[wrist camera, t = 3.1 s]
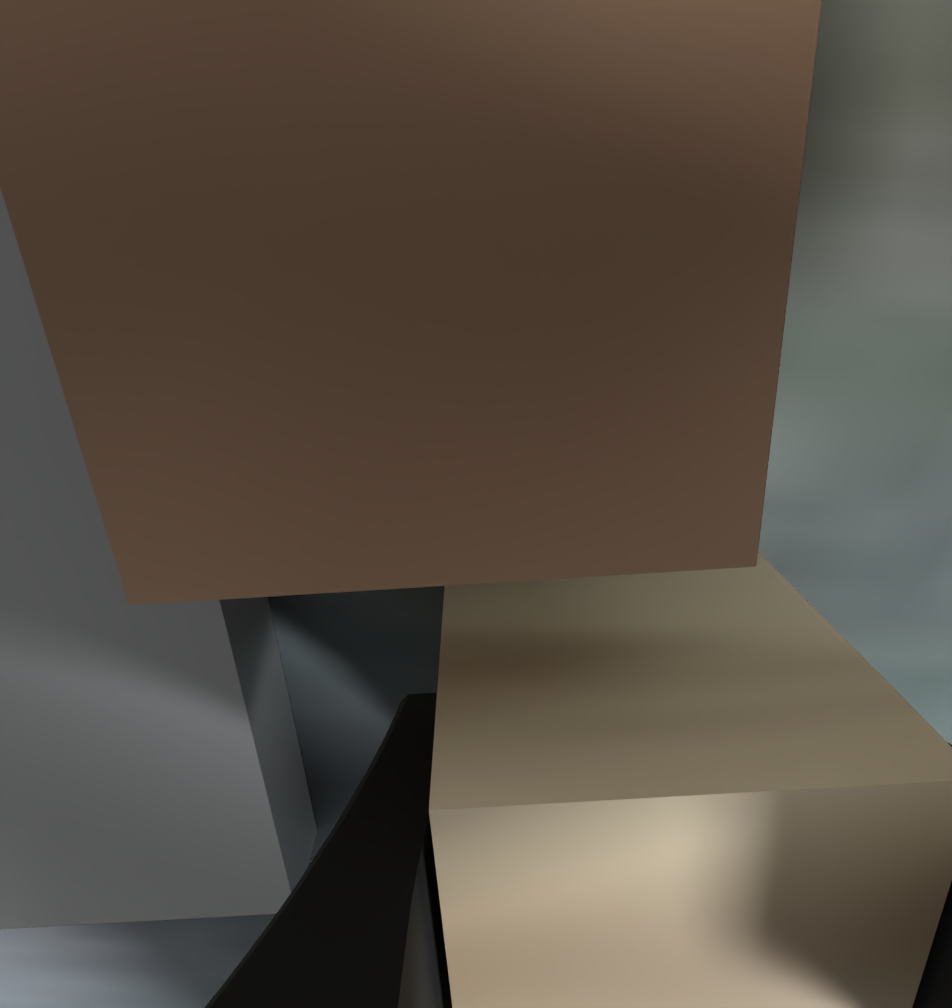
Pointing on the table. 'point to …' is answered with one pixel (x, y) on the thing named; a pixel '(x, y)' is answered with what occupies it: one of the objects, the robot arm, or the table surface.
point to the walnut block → (411, 279)
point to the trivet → (123, 698)
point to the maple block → (678, 800)
